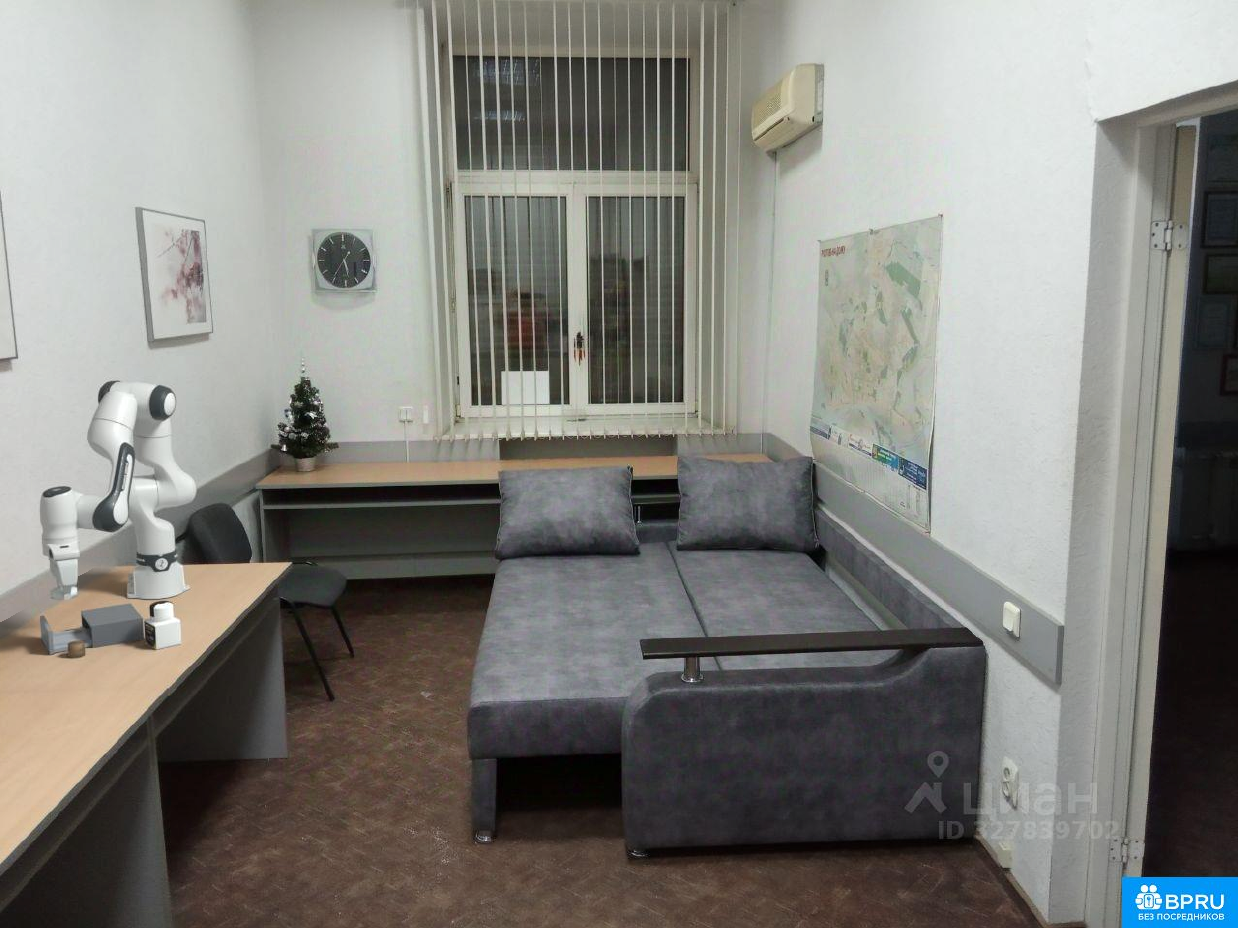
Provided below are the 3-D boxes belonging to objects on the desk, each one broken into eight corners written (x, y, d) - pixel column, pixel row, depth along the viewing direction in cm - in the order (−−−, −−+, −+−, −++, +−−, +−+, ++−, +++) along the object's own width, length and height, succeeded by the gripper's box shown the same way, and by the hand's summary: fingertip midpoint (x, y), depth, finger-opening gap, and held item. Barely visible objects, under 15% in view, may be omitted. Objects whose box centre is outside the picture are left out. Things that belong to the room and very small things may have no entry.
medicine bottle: (145, 643, 278) (142, 602, 276) (170, 637, 283) (168, 597, 281) (155, 650, 273) (153, 608, 271) (181, 644, 278) (179, 602, 276)
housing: (82, 631, 286) (80, 610, 285) (131, 623, 294) (130, 603, 293) (92, 647, 273) (91, 626, 272) (144, 639, 281) (142, 617, 280)
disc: (49, 595, 275) (48, 588, 274) (75, 591, 279) (74, 584, 278) (53, 601, 270) (52, 593, 269) (79, 597, 274) (79, 590, 273)
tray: (41, 638, 280) (39, 615, 278) (93, 629, 287) (91, 607, 286) (49, 654, 267) (48, 631, 266) (104, 645, 275) (102, 622, 274)
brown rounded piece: (67, 654, 268) (66, 642, 267) (84, 651, 270) (83, 639, 270) (69, 659, 265) (68, 646, 264) (86, 656, 267) (85, 643, 267)
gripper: (41, 540, 278) (45, 588, 280) (53, 555, 262) (57, 606, 264) (67, 537, 282) (70, 585, 284) (80, 552, 266) (84, 602, 268)
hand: (64, 595), depth 274 cm, fingers closed on disc, 6 cm apart
